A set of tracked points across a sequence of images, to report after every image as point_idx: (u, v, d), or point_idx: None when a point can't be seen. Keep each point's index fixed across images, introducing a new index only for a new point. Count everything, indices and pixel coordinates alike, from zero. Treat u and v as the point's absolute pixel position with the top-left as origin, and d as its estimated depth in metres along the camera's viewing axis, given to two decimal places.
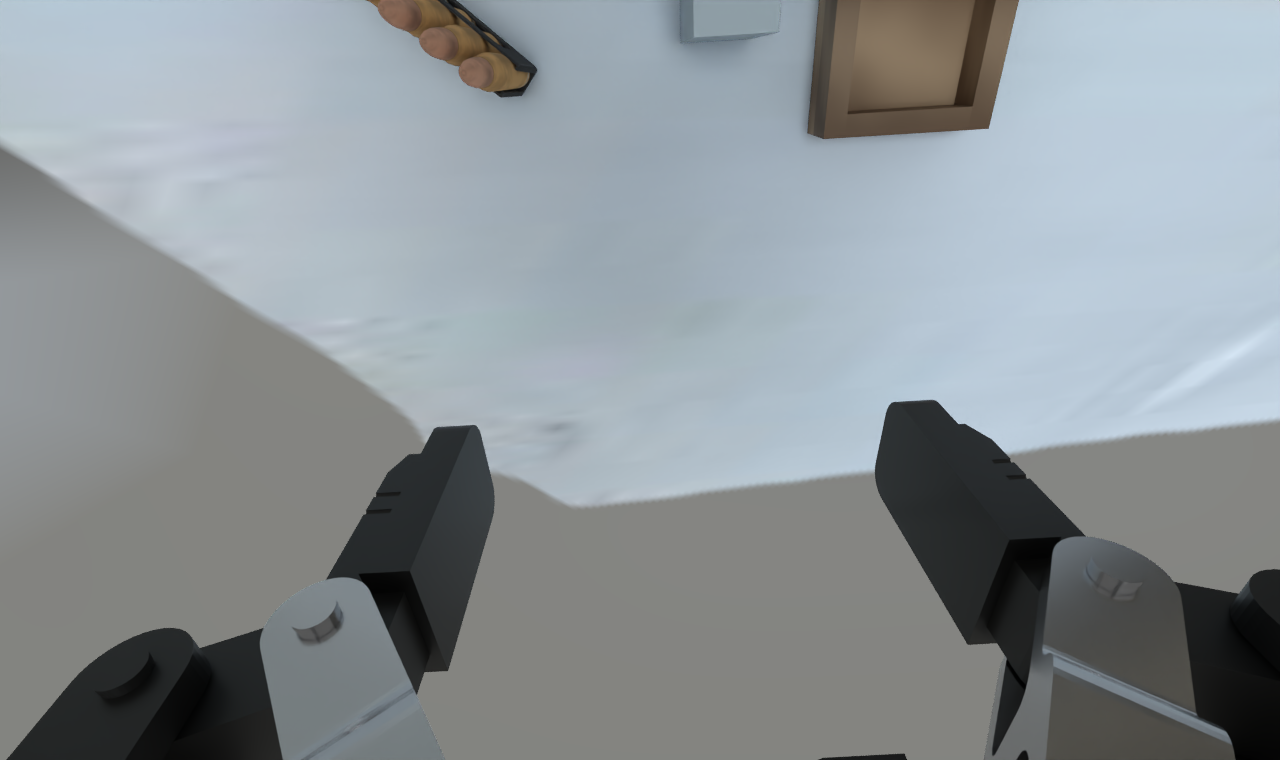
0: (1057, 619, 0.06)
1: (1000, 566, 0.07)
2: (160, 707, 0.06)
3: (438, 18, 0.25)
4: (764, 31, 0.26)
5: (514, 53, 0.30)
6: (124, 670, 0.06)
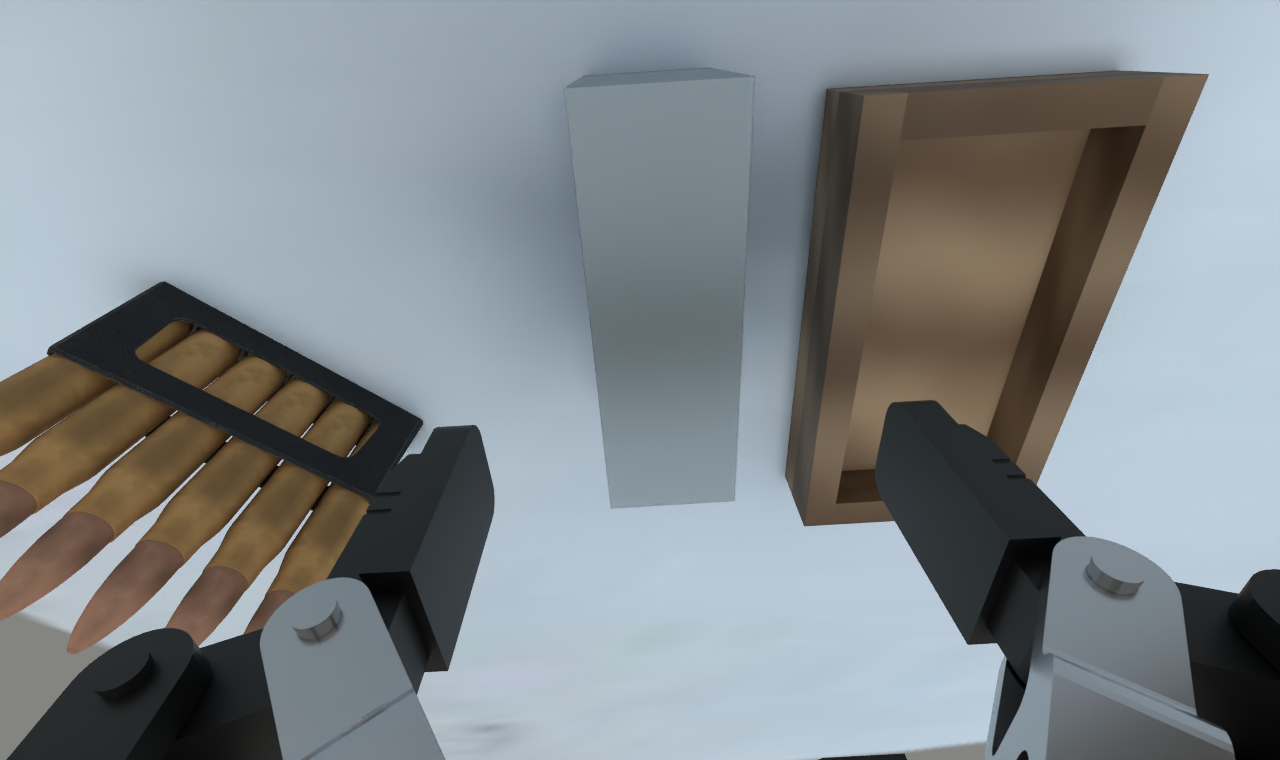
0: (1057, 619, 0.06)
1: (1000, 566, 0.07)
2: (160, 707, 0.06)
3: (227, 511, 0.17)
4: (713, 501, 0.18)
5: (381, 435, 0.22)
6: (124, 671, 0.06)
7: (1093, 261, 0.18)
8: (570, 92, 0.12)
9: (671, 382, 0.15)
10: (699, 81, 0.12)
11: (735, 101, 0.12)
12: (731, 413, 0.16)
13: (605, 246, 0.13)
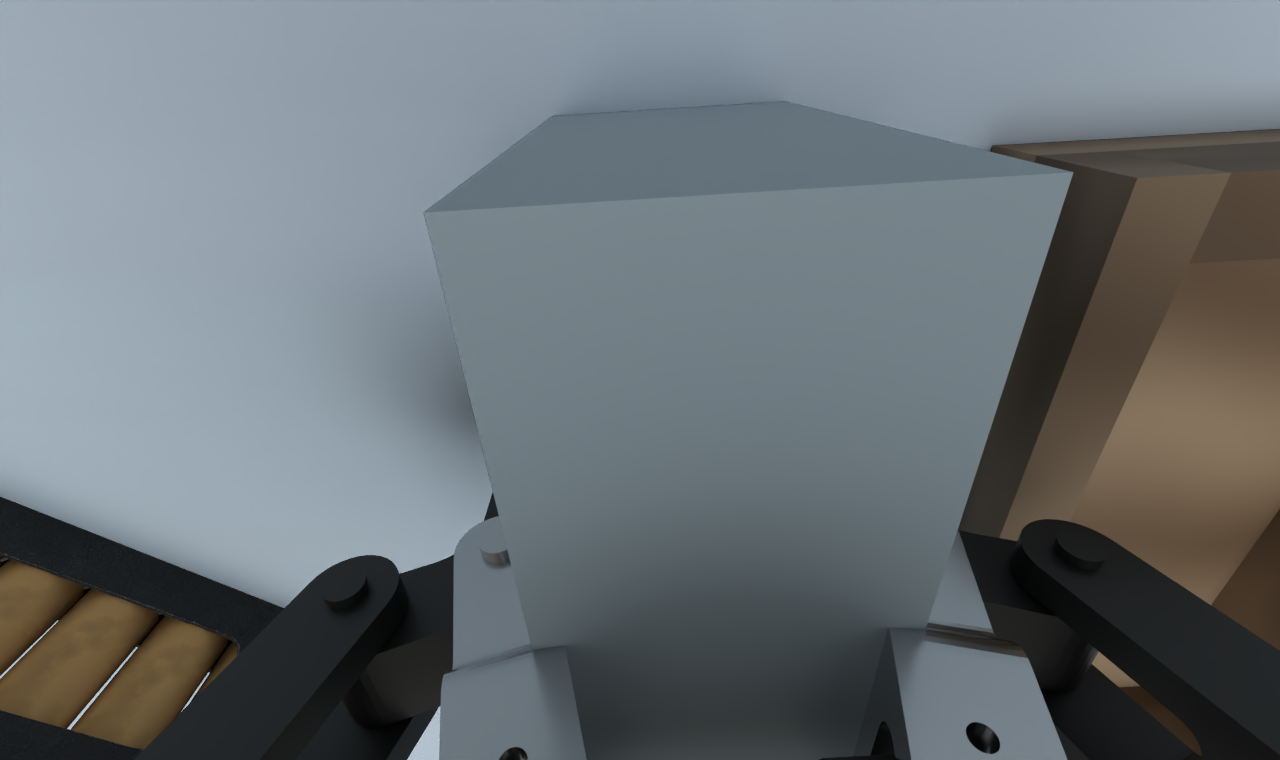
0: None
1: None
2: (385, 617, 0.07)
3: None
4: None
5: None
6: (346, 588, 0.07)
7: None
8: (447, 223, 0.03)
9: None
10: (886, 189, 0.03)
11: (991, 247, 0.04)
12: None
13: (578, 582, 0.05)
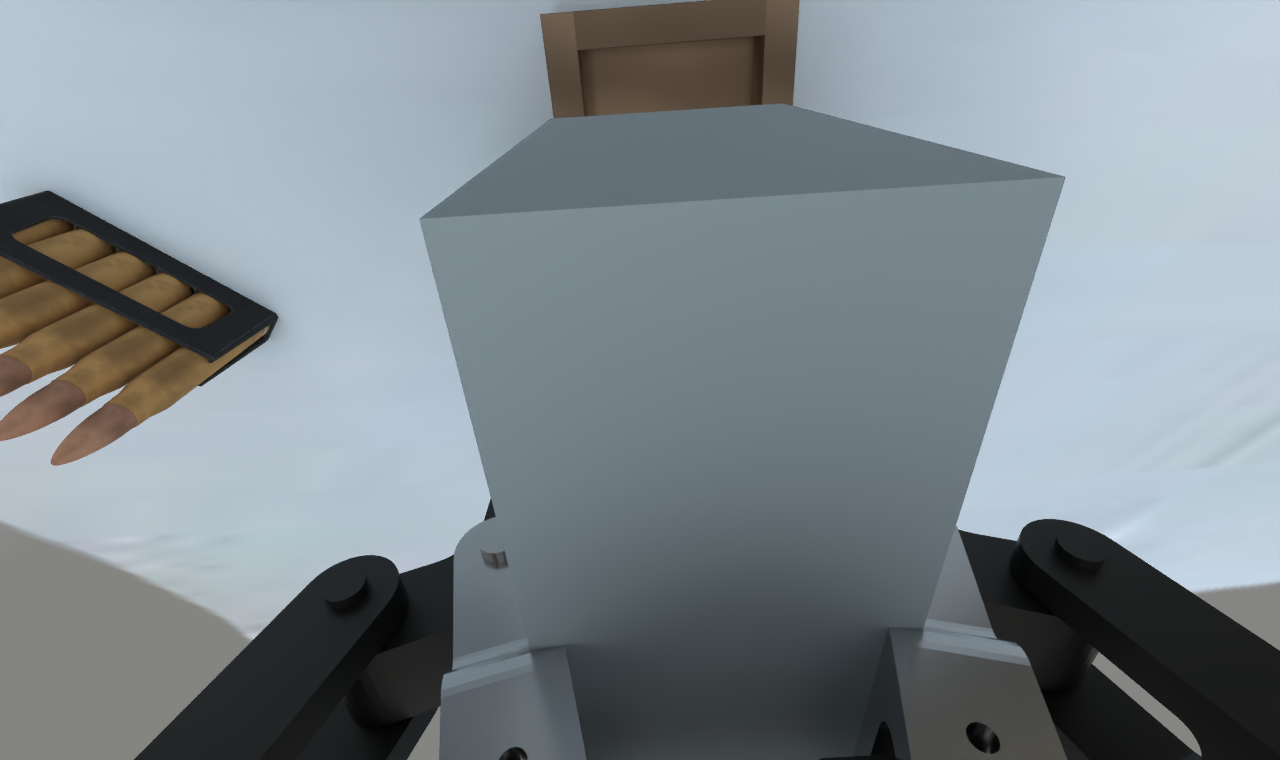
0: None
1: None
2: (385, 617, 0.07)
3: (75, 348, 0.21)
4: None
5: (232, 319, 0.27)
6: (345, 587, 0.07)
7: None
8: (443, 229, 0.03)
9: None
10: (878, 194, 0.03)
11: (984, 251, 0.04)
12: None
13: (575, 585, 0.05)
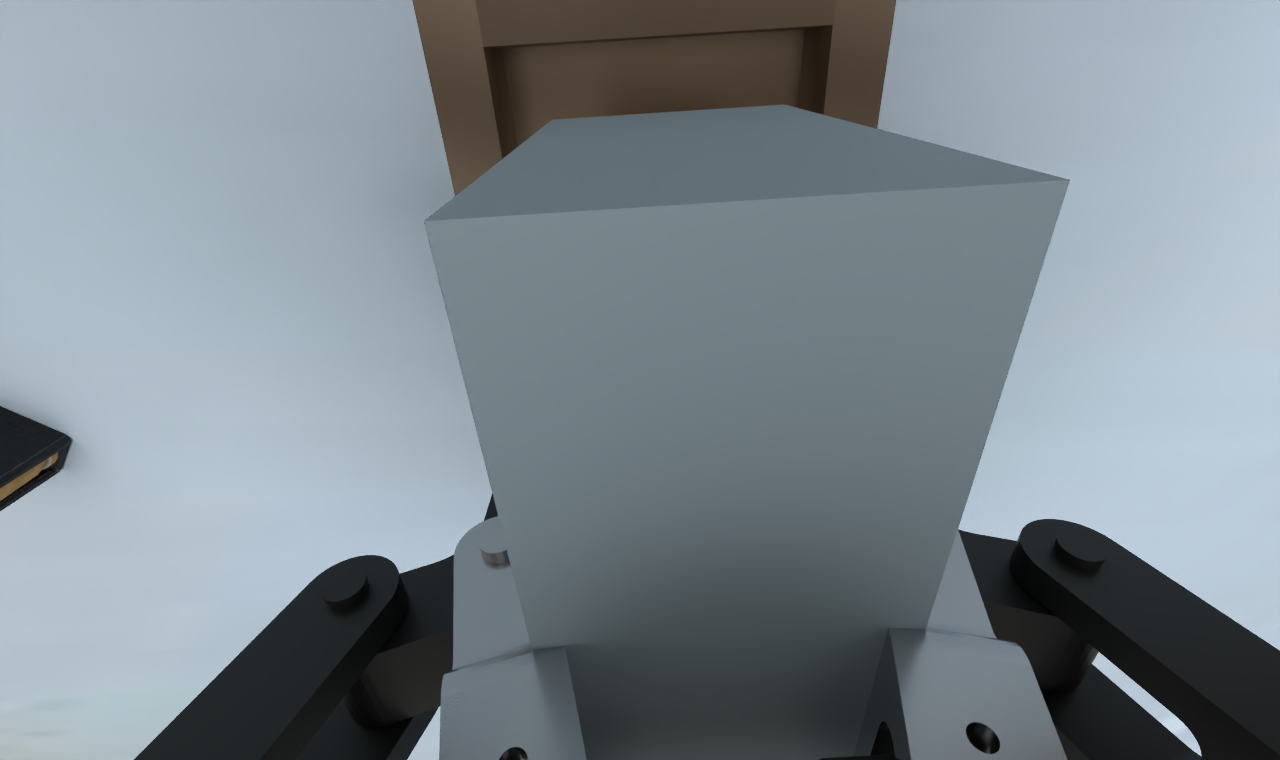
0: None
1: None
2: (385, 617, 0.07)
3: None
4: None
5: None
6: (345, 588, 0.07)
7: None
8: (447, 231, 0.03)
9: None
10: (883, 197, 0.03)
11: (988, 254, 0.04)
12: None
13: (577, 586, 0.05)
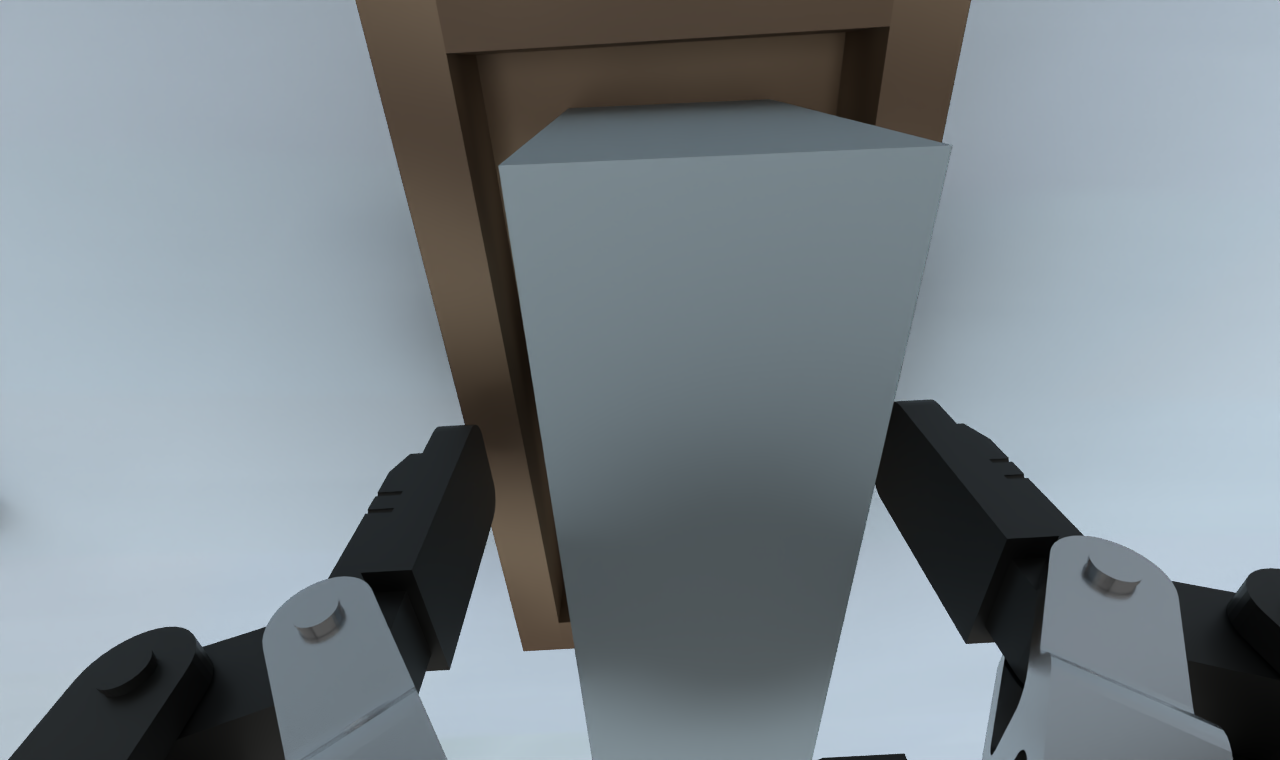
0: (1055, 618, 0.06)
1: (998, 565, 0.07)
2: (163, 705, 0.06)
3: None
4: None
5: None
6: (127, 669, 0.06)
7: None
8: (514, 173, 0.05)
9: (712, 664, 0.09)
10: (822, 154, 0.05)
11: (899, 199, 0.05)
12: (812, 702, 0.09)
13: (594, 468, 0.07)
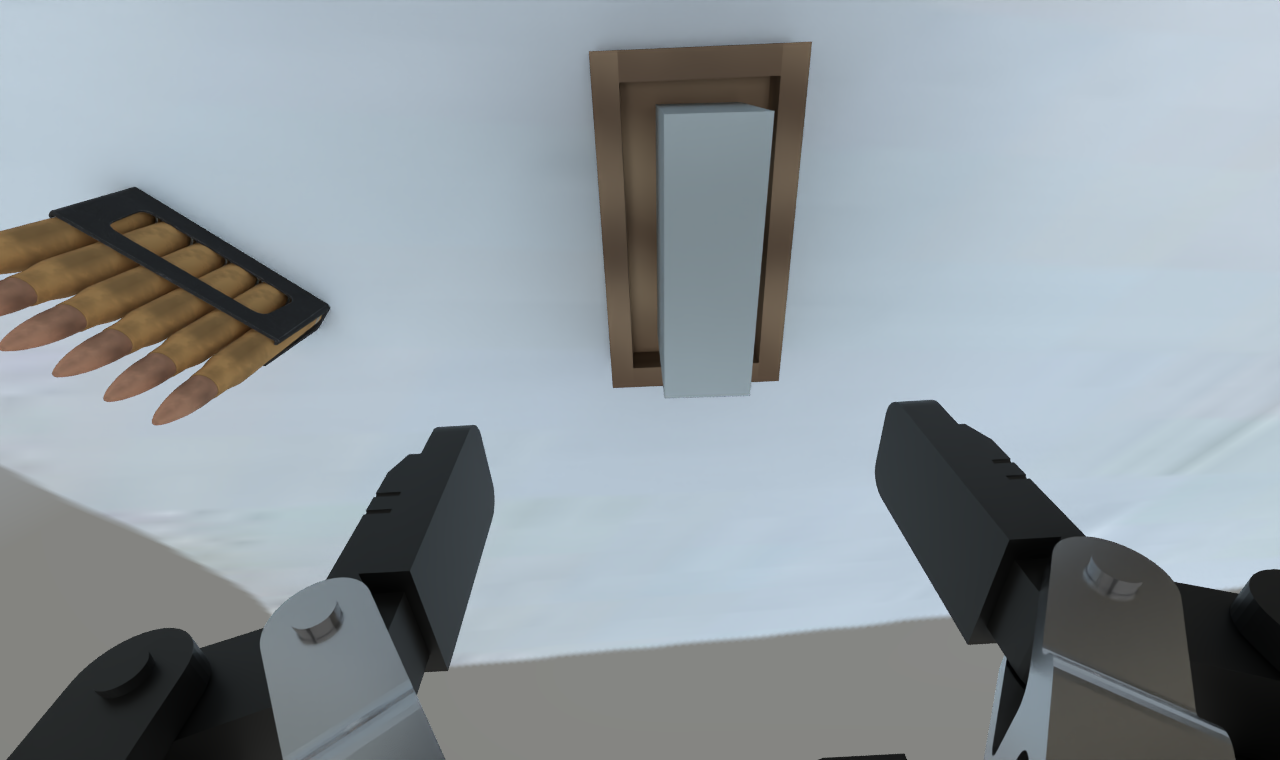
0: (1057, 619, 0.06)
1: (1000, 566, 0.07)
2: (161, 706, 0.06)
3: (166, 326, 0.24)
4: (735, 395, 0.26)
5: (292, 307, 0.30)
6: (122, 670, 0.06)
7: (773, 173, 0.26)
8: (667, 116, 0.20)
9: (712, 304, 0.23)
10: (742, 112, 0.20)
11: (762, 124, 0.20)
12: (750, 328, 0.24)
13: (679, 210, 0.22)
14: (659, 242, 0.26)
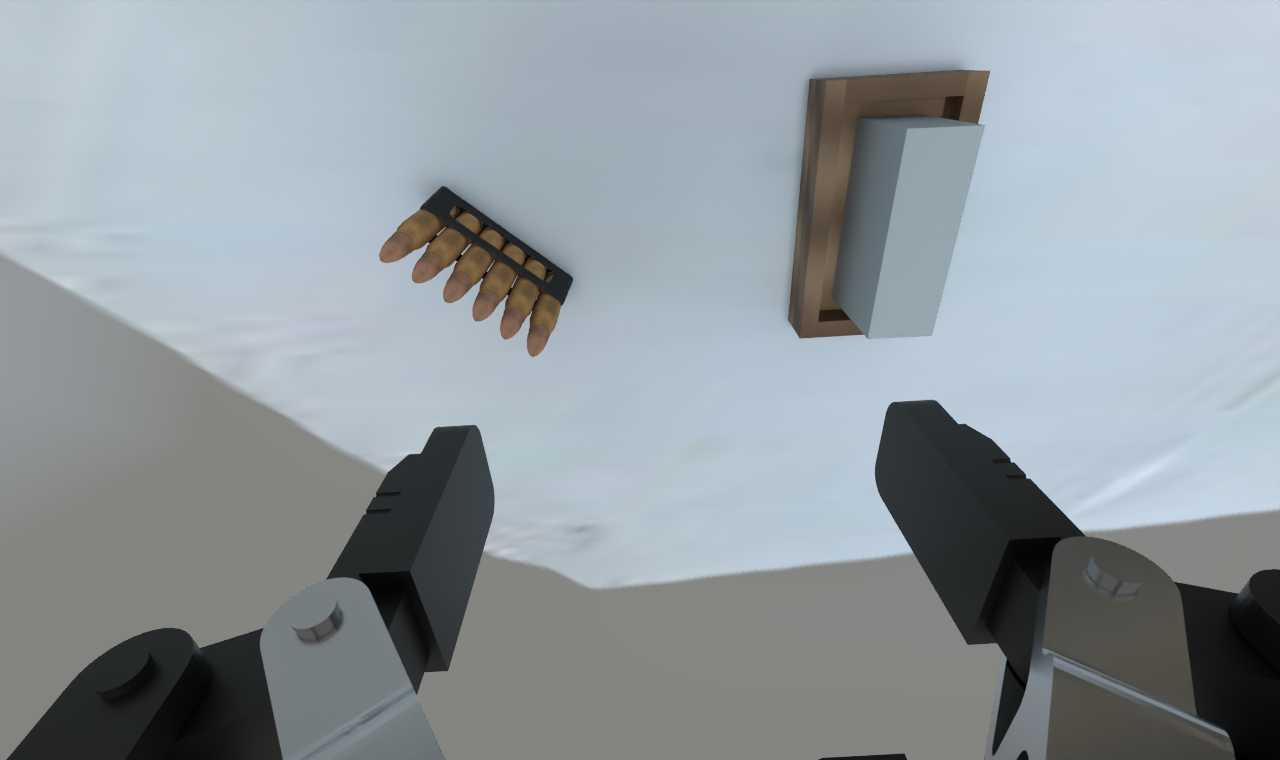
0: (1057, 619, 0.06)
1: (1000, 566, 0.07)
2: (160, 707, 0.06)
3: (507, 289, 0.33)
4: (921, 335, 0.34)
5: (557, 278, 0.38)
6: (123, 670, 0.06)
7: None
8: (909, 130, 0.28)
9: (916, 265, 0.32)
10: (962, 126, 0.28)
11: (975, 135, 0.29)
12: (941, 283, 0.33)
13: (905, 196, 0.30)
14: (860, 221, 0.35)
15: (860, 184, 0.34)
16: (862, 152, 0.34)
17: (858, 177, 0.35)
